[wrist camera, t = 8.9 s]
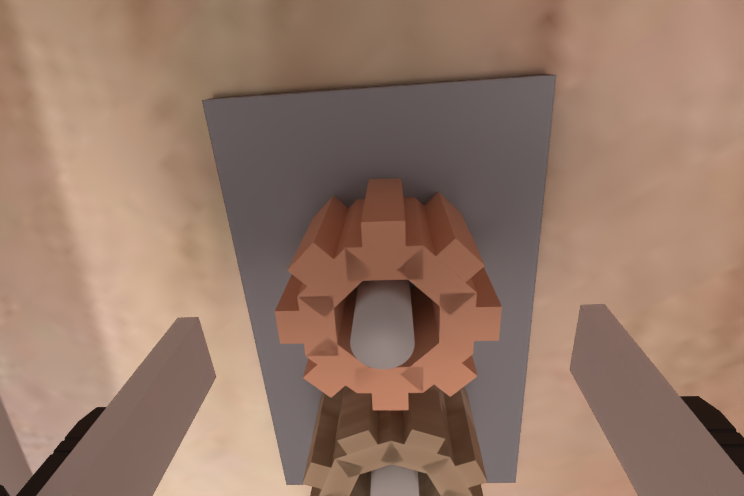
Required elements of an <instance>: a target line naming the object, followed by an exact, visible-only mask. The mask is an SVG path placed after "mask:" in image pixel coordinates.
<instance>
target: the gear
mask: <svg viewBox="0 0 744 496" xmlns="http://www.w3.org/2000/svg"><path fill="white" fill-rule="evenodd" d="M408 404H409V410H373V406H372V393H356V392H354V391H353V390H352V389H350V388H349V387H348V386H346V385H345V386H344V387H343V388H342V389H341V390H340V391H338V392H337V393H336V394H335V395H334V396H333V397H329V396H328V395H326V394H325V393H323V392H322V394H321V398H320V402H319V407H318V412H317V417H316V421H315V426H314V431H313V436H312V441H311V445H310V450H309V455H308V460H307V465H306V469H305V474H304V479H303V484H305V485H308V486H312V490H311V496H370V492H371V471H372V470H375V469H379V468H382V467H385V466H388V465H392V464H394V465H397V466H401V467H404V468H408V469H412V470H415V471H418V485H419V496H483V493H482V488H481V484H483V483H486V482H488V481H487V477H486V473H485V468H484V464H483V460H482V455H481V451H480V446H479V442H478V438H477V433H476V429H475V425H474V420H473V416H472V412H471V407H470V403H469V399H468V394H467V391H466V389H465V387H463V388H461V389H460V390H459V391H457V392H456V393H455V394H453V395H452V396H451V397H450V396H448V395H447V394H446V393H444V392H443V391H442V390H441V389H439V388H438V387H437V386H435V385H433V386H431V387H430V388H429V389H427V390H426V391H425V392H424V393H408Z"/></svg>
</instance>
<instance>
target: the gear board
mask: <svg viewBox="0 0 744 496" xmlns="http://www.w3.org/2000/svg"><path fill="white" fill-rule="evenodd" d="M555 82H556V75H549V74H544V75H530V76H516V77H502V78H488V79H474V80H460V81H446V82H432V83H418V84H404V85H390V86H376V87H362V88H348V89H334V90H320V91H306V92H292V93H278V94H265V95H251V96H237V97H223V98H211V99H206V100H202V103H203V107H204V112H205V116H206V121H207V125H208V130H209V134H210V139H211V144H212V148H213V153H214V157H215V162H216V166H217V171H218V175H219V180H220V184H221V189H222V193H223V198H224V203H225V207H226V212H227V216H228V221H229V225H230V230H231V234H232V239H233V243H234V248H235V253H236V257H237V262H238V266H239V271H240V275H241V280H242V284H243V289H244V293H245V298H246V302H247V307H248V312H249V316H250V321H251V325H252V330H253V334H254V339H255V343H256V348H257V352H258V357H259V361H260V366H261V371H262V375H263V380H264V384H265V389H266V393H267V398H268V402H269V407H270V411H271V416H272V421H273V425H274V430H275V434H276V439H277V443H278V448H279V452H280V457H281V461H282V466H283V470H284V475H285V480H286V484H287V485H305V484H303V479H304V474H305V469H306V465H307V460H308V455H309V450H310V445H311V441H312V436H313V431H314V426H315V421H316V417H317V412H318V407H319V402H320V398H321V394H322V391H321V390H319V389H318V388H316V387H315V386H314V385H312V384H311V383H309V382H308V381H306V380H305V379H304V378H303V376H304V372H305V369H306V365H307V361H308V358H307V357H306V356H305V349H304V344H280V340H279V334H278V328H277V322H276V316H275V309H276V307H277V305H278V303H279V301H280V299H281V296H282V294H283V292H284V290H285V288H286V286H287V284H288V281H289V279H290V277H291V275H292V274H291V273H290V272H288V271H287V270H288V268H289V266H290V264H291V262H292V260H293V258H294V256H295V254H296V252H297V250H298V248H299V246H300V243H301V241H302V239H303V237H304V235H305V233H306V231H307V229H308V227H309V225H310V223H311V221H312V219H313V217H314V216H315V215H316V214H317V213H318V212H319V211H320V209H321V208H322V207H323V206H324V205H325V204H326V203H327V202H328V201H329V200H330V198H331V197H332V196H333V195H334V196H335V197H336V198H337V199H338V200H339V201H341V202H342V203H343V204H344V205H345V206H346V207H348V208H349V207H350V206H351V205H352V204H353V203H354V202H355V201H356V200H357V199H365V197H366V192H367V186H368V181H369V179H389V178H401V179H402V190H403V198H407V197H415V198H416V199H417V200H418V201H420V202H421V203H422V204H423V205H425V204H426V203H427V202H428V201H429V200H430V199H431V198H433V197H434V196H435V195H436V194H437V193H438V192H440V193H441V194H442V195H443V196H444V197H445V198H446V199H447V200H448V201H449V202H450V203H451V204H452V205H453V206H454V207H456V208H457V209H458V210H459V211H460V212H461V214H462V216H463V218H464V220H465V223H466V225H467V227H468V229H469V231H470V233H471V236H472V238H473V240H474V242H475V244H476V247H477V249H478V251H479V253H480V255H481V257H482V260H483V262H484V264H485V266H484V268H485V270H486V273H487V275H488V277H489V279H490V281H491V284H492V286H493V288H494V290H495V293H496V295H497V297H498V299H499V301H500V304H501V306H502V312H501V323H500V334H499V341H474V349H473V354H472V357H473V361H474V364H475V368H476V372H477V375H478V376H477V377H476V378H475V379H473V380H472V381H471V382H469V383H468V384H467V385H465V386H464V387H465V389H466V391H467V394H468V399H469V403H470V407H471V412H472V416H473V420H474V425H475V429H476V433H477V438H478V442H479V446H480V451H481V455H482V460H483V464H484V468H485V473H486V477H487V481H488V482H486V483H515V482H516V472H517V462H518V452H519V442H520V432H521V422H522V412H523V402H524V392H525V382H526V372H527V362H528V352H529V342H530V332H531V322H532V312H533V302H534V292H535V282H536V272H537V262H538V252H539V242H540V232H541V222H542V212H543V202H544V192H545V182H546V172H547V162H548V152H549V142H550V132H551V122H552V112H553V102H554V92H555ZM413 287H415V285H414V284H413V283H412V282H410V281H409V280H370V281H362V282H361V283H360V284H359V285H358V290H357V297H356V304H355V311H354V318H353V325H352V332H351V339H350V346H351V350H352V352H353V354H354V356H355V357H356V358H357V359H358V360H359V361H360V362H361V363H363V364H364V365H366V366H368V367H371V368H375V369H391V368H395V367H398V366H400V365H402V364H403V363H405V362H406V361H407V360H408V359H409V358H410V356H411V355H412V353H413V350H414V346H415V340H414V329H413V317H412V305H411V293H410V290H411V289H412V288H413ZM370 496H419V485H418V471H415V470H412V469H408V468H404V467H401V466H397V465H394V464H392V465H388V466H385V467H382V468H379V469H375V470H372V471H371V492H370Z"/></svg>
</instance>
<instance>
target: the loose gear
mask: <svg viewBox="0 0 744 496" xmlns="http://www.w3.org/2000/svg"><path fill="white" fill-rule="evenodd" d="M484 266H485V264H484V262H483V260H482V257H481V255H480V253H479V251H478V249H477V247H476V244H475V242H474V240H473V238H472V236H471V233H470V231H469V229H468V227H467V225H466V223H465V220H464V218H463V216H462V214H461V212H460V211H459V210H458V209H457V208H456V207H454V206H453V205H452V204H451V203H450V202H449V201H448V200H447V199H446V198H445V197H444V196H443V195H442V194H441V193H440V192H438V193H437V194H436V195H435V196H434V197H433V198H431V199H430V200H429V201H428V202H427V203H426V204H425V205H423V204H422V203H421V202H420V201H418V200H417V199H416V198H415V197H407V198H403V190H402V179H401V178H389V179H369V181H368V186H367V192H366V197H365V199H357V200H356V201H355V202H354V203H353V204H352V205H351V206H350V207H349V208H348V207H346V206H345V205H344V204H343V203H342V202H341V201H339V200H338V199H337V198H336V197H335V196H334V195H333V196H332V197H331V198H330V200H329V201H328V202H327V203H326V204H325V205H324V206H323V207H322V208H321V209H320V211H319V212H318V213H317V214H316V215H315V216H314V217H313V219H312V221H311V223H310V225H309V227H308V229H307V231H306V233H305V235H304V237H303V239H302V241H301V243H300V246H299V248H298V250H297V252H296V254H295V256H294V258H293V260H292V262H291V264H290V266H289V268H288V270H287V271H288V272H290V273H291V274H292V275H291V277H290V279H289V281H288V284H287V286H286V288H285V290H284V292H283V294H282V296H281V299H280V301H279V303H278V305H277V307H276V309H275V316H276V322H277V328H278V334H279V340H280V344H304V349H305V356H306V357H307V358H308V361H307V365H306V369H305V372H304V376H303V378H304V379H305V380H306V381H308V382H309V383H311V384H312V385H314V386H315V387H316V388H318V389H319V390H321V391H322V392H323V393H325V394H326V395H328V396H329V397H333V396H334V395H335V394H336V393H337V392H338V391H340V390H341V389H342V388H343V387H344V386H345V385H346V386H348V387H349V388H350V389H352V390H353V391H354V392H356V393H372V406H373V410H409V404H408V393H424V392H425V391H426V390H427V389H429V388H430V387H431V386H433V385H435V386H437V387H438V388H439V389H441V390H442V391H443V392H444V393H446V394H447V395H448V396H450V397H451V396H452V395H453V394H455V393H456V392H457V391H459V390H460V389H461V388H463V387H464V386H465V385H467V384H468V383H469V382H471V381H472V380H473V379H475V378H476V377H477V376H478V375H477V372H476V368H475V364H474V361H473V357H472V354H473V349H474V341H499V334H500V323H501V312H502V306H501V304H500V301H499V299H498V297H497V295H496V293H495V290H494V288H493V286H492V284H491V281H490V279H489V277H488V275H487V273H486V270H485V268H484ZM370 280H409V281H410V282H412V283H413V284H414V285H415V287H413V288H412V289H411V290H410V293H411V305H412V317H413V329H414V340H415V346H414V350H413V353H412V355H411V356H410V358H409V359H408V360H407V361H406V362H405V363H403V364H402V365H400V366H398V367H395V368H391V369H375V368H371V367H368V366H366V365H364V364H363V363H361V362H360V361H359V360H358V359H357V358H356V357H355V356H354V354H353V352H352V350H351V346H350V339H351V332H352V325H353V318H354V311H355V304H356V297H357V290H358V285H359V284H360V283H361V282H362V281H370Z"/></svg>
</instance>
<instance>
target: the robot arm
mask: <svg viewBox="0 0 744 496" xmlns="http://www.w3.org/2000/svg"><path fill="white" fill-rule="evenodd" d="M570 371H571V373H572V375H573V376H574V378H575V380H576V382H577V384H578V386H579V388H580V389H581V391H582V393H583V395H584V397H585V399H586V400H587V402H588V404H589V406H590V408H591V410H592V411H593V413H594V415H595V417H596V419H597V421H598V422H599V424H600V426H601V428H602V430H603V432H604V434H605V435H606V437H607V439H608V441H609V443H610V445H611V446H612V448H613V450H614V452H615V454H616V456H617V457H618V459H619V461H620V463H621V465H622V467H623V468H624V470H625V472H626V474H627V476H628V478H629V480H630V481H631V483H632V485H633V487H634V489H635V491H636V492H637V494H638V496H744V438H743V436H742V435H741V434H740V433H737V432H736V429H735V427H734V426H733V425H732V424H731V423H730V422H729V421H728V420H727V418H726V417H725V416H724V415H723V414H722V413H721V412H720V411H719V410H717V409H716V408H715V407H713V406H712V405H710V404H709V403H707V402H706V401H704V400H703V399H702V398H700V397H699V396H681V397H680V396H679V395H678V394H677V392H676V391H675V390H674V389H673V388H672V386H671V385H670V384H669V383H668V381H667V380H666V379H665V378H664V376H663V375H662V374H661V373H660V372H659V370H658V369H657V368H656V367H655V365H654V364H653V363H652V362H651V361H650V359H649V358H648V357H647V356H646V354H645V353H644V352H643V351H642V349H641V348H640V347H639V346H638V345H637V343H636V342H635V341H634V340H633V338H632V337H631V336H630V335H629V334H628V332H627V331H626V330H625V329H624V327H623V326H622V325H621V324H620V323H619V321H618V320H617V319H616V318H615V316H614V315H613V314H612V313H611V311H610V310H609V309H608V308H607V307H606V305H605V304H590V305H580V311H579V317H578V323H577V329H576V335H575V340H574V346H573V352H572V358H571V364H570ZM215 378H216V374H215V371H214V368H213V364H212V361H211V357H210V354H209V351H208V347H207V344H206V341H205V337H204V334H203V331H202V327H201V324H200V321H199V317H187V318H177V319H176V321H175V322H174V323H173V324H172V326H171V327H170V328H169V329H168V331H167V332H166V333H165V334H164V336H163V337H162V338H161V339H160V341H159V342H158V343H157V344H156V346H155V347H154V348H153V349H152V351H151V352H150V353H149V355H148V356H147V357H146V358H145V360H144V361H143V362H142V363H141V365H140V366H139V367H138V368H137V370H136V371H135V372H134V373H133V375H132V376H131V377H130V378H129V380H128V381H127V382H126V383H125V385H124V386H123V387H122V389H121V390H120V391H119V392H118V394H117V395H116V396H115V397H114V399H113V400H112V401H111V402H110V404H109V405H108V406H107V407H97V408H95V409H94V410H93V411H91V412H90V413H89V414H87V415H86V416H85V417H84V418H82V419H81V420H80V421H78V423H77V424H76V425H75V426H74V427H73V428H72V430H71V431H70V432H69V433H68V434H67V436H66V437H65V440H64V441H62V442H61V443H60V444H59V445H58V446H57V448H56V449H55V450H54V453H53V454H52V455H50V456H49V457H48V458H47V459H46V461H45V462H44V463H43V464H42V465H41V467H40V468H39V469H38V470H37V471H36V473H35V474H34V475H33V476H32V477H31V478H30V480H29V481H28V482H27V483H26V485H25V486H24V487H23V488H22V489H21V490H20V492H19V493H18V494H17V495H16V496H153V494H154V492H155V490H156V488H157V487H158V485H159V483H160V481H161V479H162V477H163V475H164V473H165V472H166V470H167V468H168V466H169V464H170V462H171V460H172V459H173V457H174V455H175V453H176V451H177V449H178V447H179V446H180V444H181V442H182V440H183V438H184V436H185V434H186V432H187V431H188V429H189V427H190V425H191V423H192V421H193V419H194V418H195V416H196V414H197V412H198V410H199V408H200V406H201V404H202V403H203V401H204V399H205V397H206V395H207V393H208V391H209V390H210V388H211V386H212V384H213V382H214V380H215ZM0 496H10V495H9V494H8V492H7V491H6V489H5V488H4V486H2V485H0Z"/></svg>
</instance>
